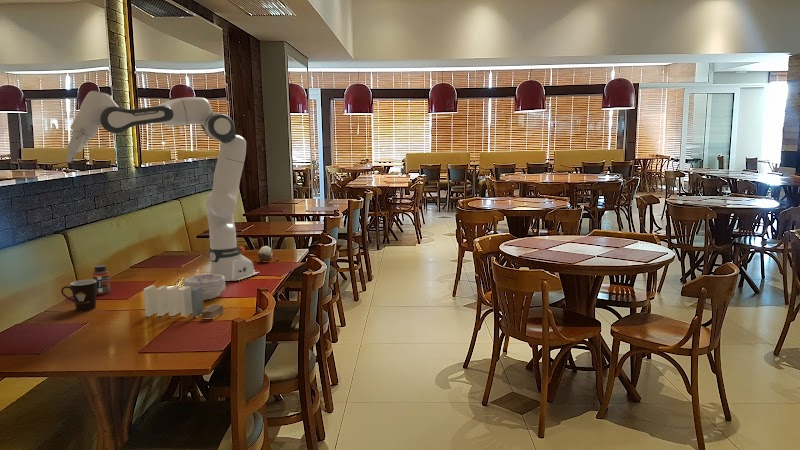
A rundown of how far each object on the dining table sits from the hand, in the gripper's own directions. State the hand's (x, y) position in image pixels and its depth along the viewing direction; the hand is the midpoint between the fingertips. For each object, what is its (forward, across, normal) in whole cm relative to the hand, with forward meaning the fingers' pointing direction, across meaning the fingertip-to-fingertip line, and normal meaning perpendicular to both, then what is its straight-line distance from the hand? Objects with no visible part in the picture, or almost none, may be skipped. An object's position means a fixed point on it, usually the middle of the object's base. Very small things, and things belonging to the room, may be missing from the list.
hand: (68, 161), depth 232 cm
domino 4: (+32, -46, -57) cm, 80 cm away
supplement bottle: (+44, +2, -31) cm, 54 cm away
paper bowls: (+28, -24, -65) cm, 75 cm away
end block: (+28, -51, -65) cm, 87 cm away
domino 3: (+34, -43, -54) cm, 77 cm away
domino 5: (+30, -48, -61) cm, 83 cm away
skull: (+11, +32, -96) cm, 101 cm away
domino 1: (+37, -38, -47) cm, 71 cm away
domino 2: (+36, -41, -50) cm, 74 cm away
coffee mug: (+48, -19, -26) cm, 57 cm away
